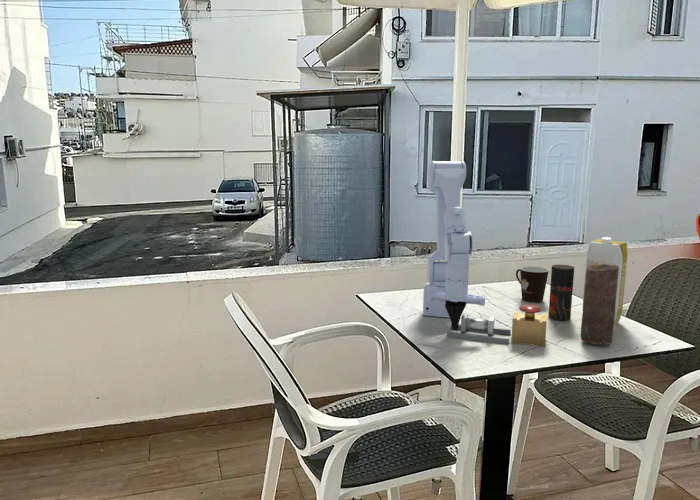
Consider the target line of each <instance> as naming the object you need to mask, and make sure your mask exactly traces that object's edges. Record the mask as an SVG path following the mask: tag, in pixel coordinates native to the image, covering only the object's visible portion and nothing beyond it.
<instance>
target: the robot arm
mask: <svg viewBox="0 0 700 500" xmlns="http://www.w3.org/2000/svg"><path fill="white" fill-rule="evenodd" d="M466 177H467V164H466V163H465V161H464V160H460V161H459V160H457V161H456V160H455V161H453V160H449V161H445V160H441V161H440V160H439V161H438V160H437V161H436V160H431V161H430V162H429V165H428V188H429V189H428V190H429V191H430V192H432V193H434V194H435V199H436V250H434V252H432V253H431V254H430V255H428V257H427V264H426V279H427V282H425V284H424V288H423V298H422V299H423V301H422V302H423V303H422V315H423V316H429V317H440V318H449V320H450V325H451V324H452V329H451V330H452V331H458V330H459V329H458V325H459V324H460V322H461V317H462V315H463V313H464V310H465V309H466V307H467V305H468V304H470V305H479V306H483V307H484V306H485V305H486V296H482V295H481V296H480V295H476V294H469V293H468V291H469V273H470V271H469V269H470V256H471V255H472V253H473V244H474V243H473V235H472V233H471V230H470V228H469V227H468V223H467V215H466V210H465V209H463V208H462V207H461V189H462V187H463V185H464V183H465V181H466ZM441 260H442V261H441Z"/></svg>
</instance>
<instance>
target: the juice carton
mask: <svg viewBox="0 0 700 500" xmlns="http://www.w3.org/2000/svg"><path fill="white" fill-rule="evenodd" d="M590 264H598V265H601V264H607V265H617V266H618V267H619V272H618V282H617V293H616V304H615V315H614V326H615V325H616V324H618V323H619V322H620V320H621V317H622V314H623V309H624V298H625V288H626V287H625V286H626V277H627V267H628V243H627V241H613V240H612V237H609V236H608V237H607V236H604V237H601V239H600V238H596V239H594V240H591V241H590V242H589V244H588V248H587V252H586V262H585V275H584V282H583V283H584V284H583V285H584V287H583V294H584V293H585V282H586V272H587V267H588V266H589V265H590ZM583 304H584V295H583V299H582V305H583Z"/></svg>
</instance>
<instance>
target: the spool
mask: <svg viewBox="0 0 700 500" xmlns="http://www.w3.org/2000/svg"><path fill="white" fill-rule="evenodd" d="M488 317H489V318H488V319H484V318H483V319H482V318H473V317H472V318H471V317H469V312H462V315H461V317H460V324H461V330H460V333H466V334H468V333H473V334H485V335H487V336H495V335H494V334H495V333H494V327H495V317H496V315H494V314H490V315H489V316H488Z"/></svg>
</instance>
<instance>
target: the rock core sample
mask: <svg viewBox="0 0 700 500" xmlns="http://www.w3.org/2000/svg"><path fill="white" fill-rule="evenodd" d="M618 272H619V267H618V266H617V265H607V264H601V265H598V264H590V265H589V266H588V267H587V272H586V282H585V281H584V283H585V293H584V292H583V296H584V304H583V303H582V313H581V315H582V316H581V325H580V326H581V327H580V339H581V341H583V342H584V343H587V344H592V345H599V346H600V345H612V343H613V337H614V336H613V335H614V327H615V325H614V315H615V304H616V293H617V282H618Z"/></svg>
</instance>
